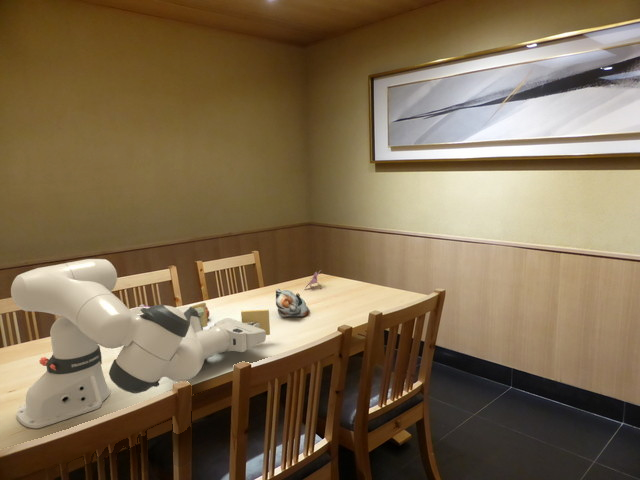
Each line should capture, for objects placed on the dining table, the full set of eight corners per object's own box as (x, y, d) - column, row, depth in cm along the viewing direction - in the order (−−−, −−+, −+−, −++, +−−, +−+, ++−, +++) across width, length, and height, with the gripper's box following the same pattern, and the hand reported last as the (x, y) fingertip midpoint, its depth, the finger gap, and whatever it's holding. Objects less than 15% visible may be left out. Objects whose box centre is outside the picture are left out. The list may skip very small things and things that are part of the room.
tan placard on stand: (269, 343, 160) (268, 313, 158) (228, 345, 159) (226, 315, 157) (270, 336, 166) (269, 307, 164) (230, 338, 165) (228, 309, 163)
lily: (321, 286, 239) (311, 270, 239) (334, 281, 230) (324, 265, 229) (305, 298, 232) (295, 282, 231) (318, 293, 223) (308, 277, 222)
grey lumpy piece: (315, 315, 192) (307, 291, 184) (291, 331, 188) (282, 307, 179) (296, 297, 203) (288, 274, 194) (274, 311, 199) (264, 289, 190)
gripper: (206, 337, 157) (238, 326, 167) (246, 353, 144) (277, 340, 154) (205, 320, 156) (237, 309, 166) (245, 334, 143) (277, 322, 153)
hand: (257, 324), depth 160 cm, fingers closed
